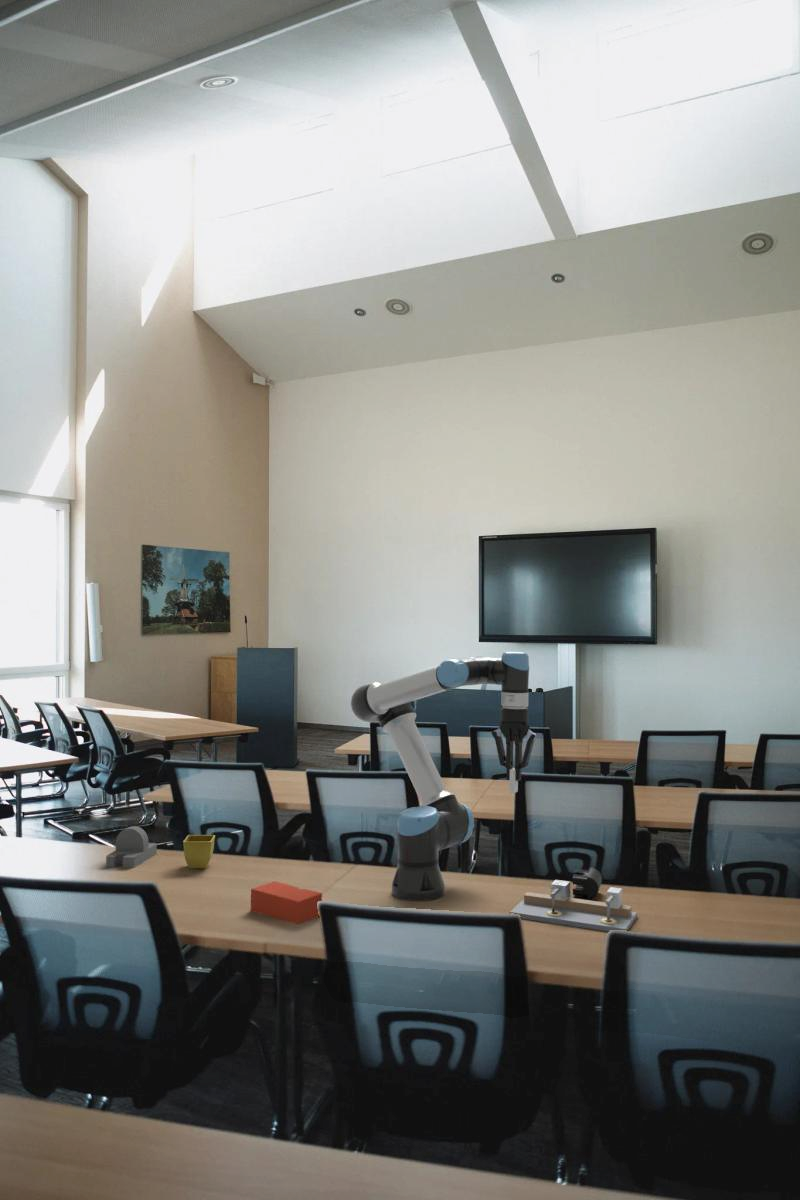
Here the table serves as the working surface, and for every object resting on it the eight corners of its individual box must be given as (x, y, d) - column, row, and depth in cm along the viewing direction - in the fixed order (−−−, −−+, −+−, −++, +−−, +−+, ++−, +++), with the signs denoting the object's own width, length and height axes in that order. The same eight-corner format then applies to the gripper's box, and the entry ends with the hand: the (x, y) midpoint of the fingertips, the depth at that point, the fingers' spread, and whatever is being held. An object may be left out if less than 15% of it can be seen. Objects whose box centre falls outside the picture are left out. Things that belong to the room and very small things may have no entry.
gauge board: (509, 916, 230) (509, 888, 230) (526, 901, 242) (526, 874, 243) (625, 933, 217) (625, 904, 217) (637, 916, 229) (636, 888, 229)
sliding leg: (544, 911, 228) (544, 890, 228) (555, 900, 237) (555, 879, 238) (559, 914, 226) (559, 892, 227) (570, 902, 236) (570, 881, 236)
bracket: (157, 854, 295) (157, 821, 295) (133, 869, 277) (133, 834, 277) (130, 853, 296) (130, 820, 296) (104, 867, 278) (105, 833, 279)
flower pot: (215, 862, 283) (215, 834, 283) (211, 870, 274) (211, 841, 274) (187, 863, 282) (187, 835, 283) (182, 870, 274) (182, 841, 274)
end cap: (598, 902, 241) (598, 877, 241) (572, 900, 243) (572, 875, 243) (602, 892, 251) (601, 868, 251) (576, 889, 253) (576, 866, 253)
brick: (250, 911, 236) (250, 888, 236) (274, 902, 243) (274, 880, 243) (298, 925, 225) (298, 901, 225) (322, 916, 232) (322, 893, 232)
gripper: (488, 707, 245) (486, 791, 245) (532, 710, 239) (531, 797, 239) (497, 704, 252) (496, 787, 252) (541, 707, 246) (540, 792, 246)
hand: (513, 791), depth 245 cm, fingers closed
